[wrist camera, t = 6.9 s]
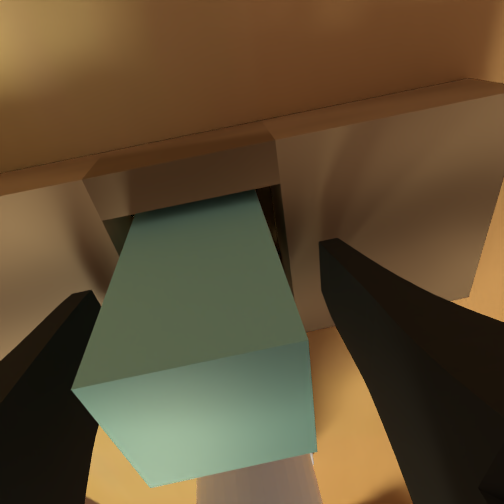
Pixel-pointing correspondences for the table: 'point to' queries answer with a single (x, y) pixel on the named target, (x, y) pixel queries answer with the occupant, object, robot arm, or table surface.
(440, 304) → the robot arm
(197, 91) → the table surface
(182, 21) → the table surface
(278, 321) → the teal peg
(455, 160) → the walnut rail
